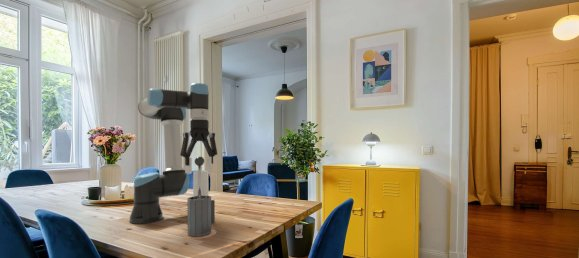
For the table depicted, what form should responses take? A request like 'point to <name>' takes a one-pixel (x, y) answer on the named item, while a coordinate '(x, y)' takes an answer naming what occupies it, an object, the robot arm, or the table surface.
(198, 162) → the plunger
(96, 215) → the table surface
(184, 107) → the robot arm
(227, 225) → the table surface
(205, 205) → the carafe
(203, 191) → the white slotted column
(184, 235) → the trivet
